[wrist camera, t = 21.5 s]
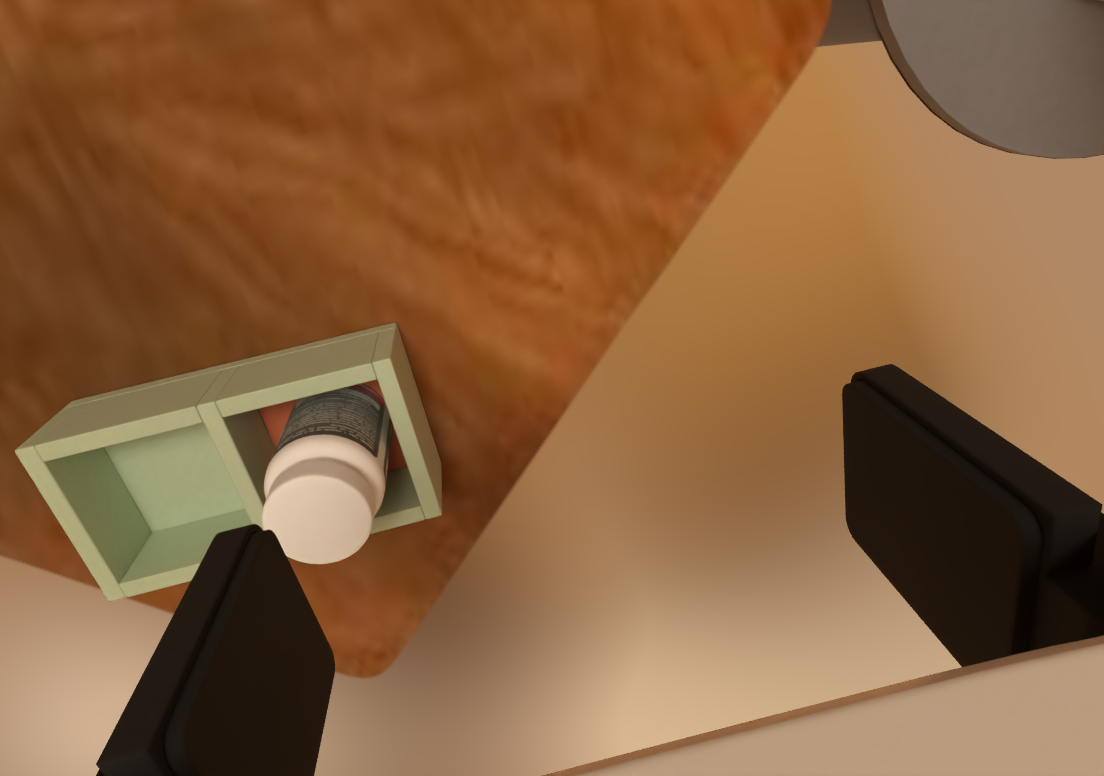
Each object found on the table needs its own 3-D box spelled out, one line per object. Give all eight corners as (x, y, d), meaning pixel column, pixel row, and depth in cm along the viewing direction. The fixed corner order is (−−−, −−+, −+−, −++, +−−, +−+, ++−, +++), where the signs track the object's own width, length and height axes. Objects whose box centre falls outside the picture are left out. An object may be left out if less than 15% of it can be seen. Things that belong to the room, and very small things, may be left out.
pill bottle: (273, 398, 32) (223, 494, 25) (367, 362, 32) (346, 448, 25) (319, 478, 34) (286, 589, 27) (408, 444, 34) (400, 546, 27)
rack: (396, 321, 33) (390, 358, 28) (441, 464, 36) (442, 515, 32) (70, 400, 32) (13, 450, 28) (148, 538, 35) (108, 602, 31)
